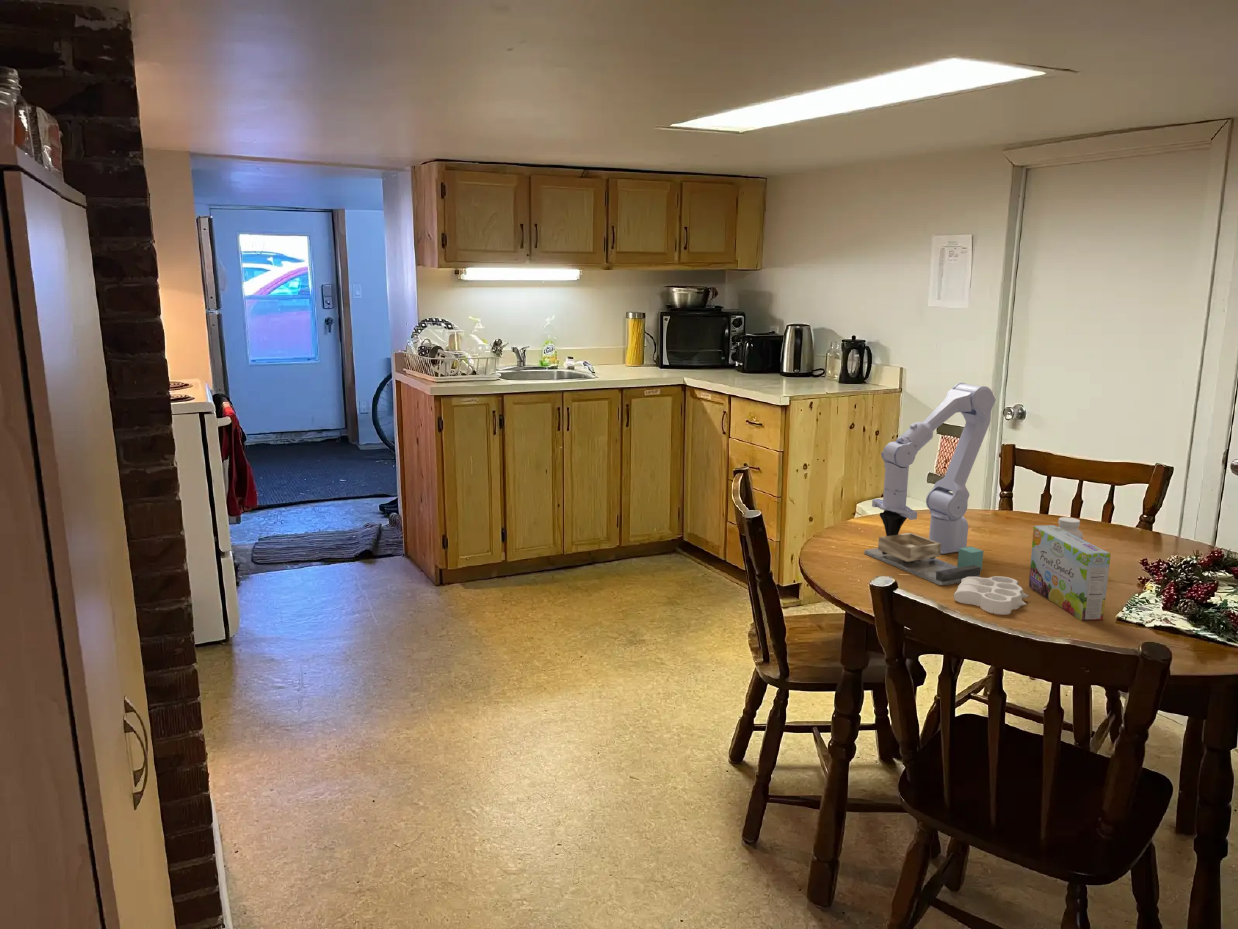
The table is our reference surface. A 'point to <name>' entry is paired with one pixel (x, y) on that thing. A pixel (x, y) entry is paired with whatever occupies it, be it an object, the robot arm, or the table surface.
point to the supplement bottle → (1070, 526)
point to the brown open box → (909, 547)
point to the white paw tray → (991, 593)
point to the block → (970, 557)
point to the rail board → (929, 568)
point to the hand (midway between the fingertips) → (891, 539)
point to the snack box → (1069, 572)
